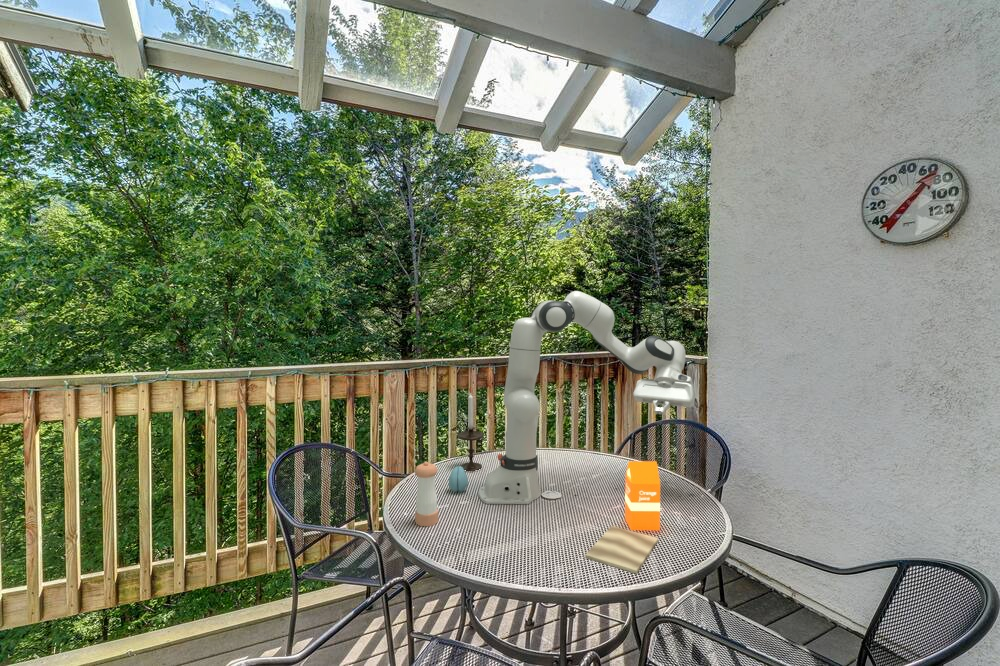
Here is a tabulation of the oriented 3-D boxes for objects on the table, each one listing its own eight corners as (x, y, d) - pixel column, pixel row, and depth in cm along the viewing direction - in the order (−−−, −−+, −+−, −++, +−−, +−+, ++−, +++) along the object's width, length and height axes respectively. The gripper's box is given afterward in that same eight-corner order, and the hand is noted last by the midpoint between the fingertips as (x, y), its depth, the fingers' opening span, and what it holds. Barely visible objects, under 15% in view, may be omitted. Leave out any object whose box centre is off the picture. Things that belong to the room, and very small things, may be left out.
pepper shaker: (431, 528, 144) (430, 467, 143) (410, 524, 147) (409, 464, 146) (442, 518, 151) (441, 459, 150) (422, 514, 154) (421, 457, 153)
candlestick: (481, 473, 191) (480, 388, 189) (455, 471, 193) (454, 387, 191) (486, 464, 202) (485, 383, 200) (461, 463, 204) (461, 383, 202)
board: (636, 573, 120) (636, 570, 120) (585, 557, 127) (585, 554, 127) (658, 540, 136) (658, 538, 136) (611, 528, 144) (611, 525, 144)
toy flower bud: (469, 461, 182) (467, 469, 170) (469, 484, 181) (467, 494, 169) (450, 461, 181) (447, 470, 169) (450, 484, 181) (447, 495, 169)
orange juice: (624, 518, 150) (625, 457, 149) (652, 518, 150) (653, 457, 149) (630, 530, 143) (631, 465, 141) (660, 530, 142) (661, 465, 141)
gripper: (636, 373, 171) (627, 404, 164) (695, 377, 160) (689, 411, 152) (639, 383, 175) (631, 414, 168) (698, 388, 164) (691, 422, 156)
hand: (659, 413), depth 160 cm, fingers closed
